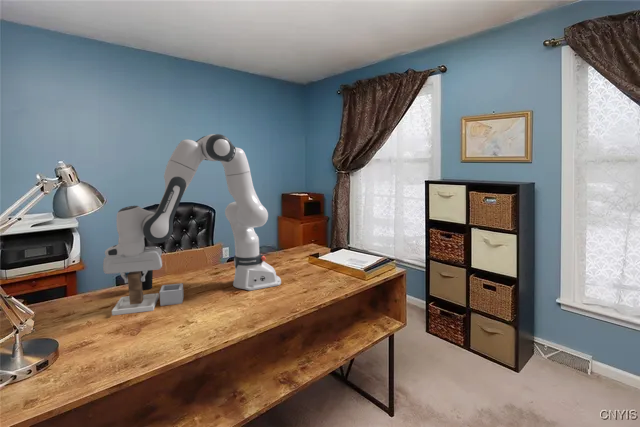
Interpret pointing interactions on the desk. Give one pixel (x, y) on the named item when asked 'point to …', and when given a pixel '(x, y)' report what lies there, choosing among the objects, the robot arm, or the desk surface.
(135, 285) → the walnut peg
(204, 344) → the desk surface
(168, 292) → the box
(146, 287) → the drinking cup
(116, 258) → the robot arm
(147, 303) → the tray
